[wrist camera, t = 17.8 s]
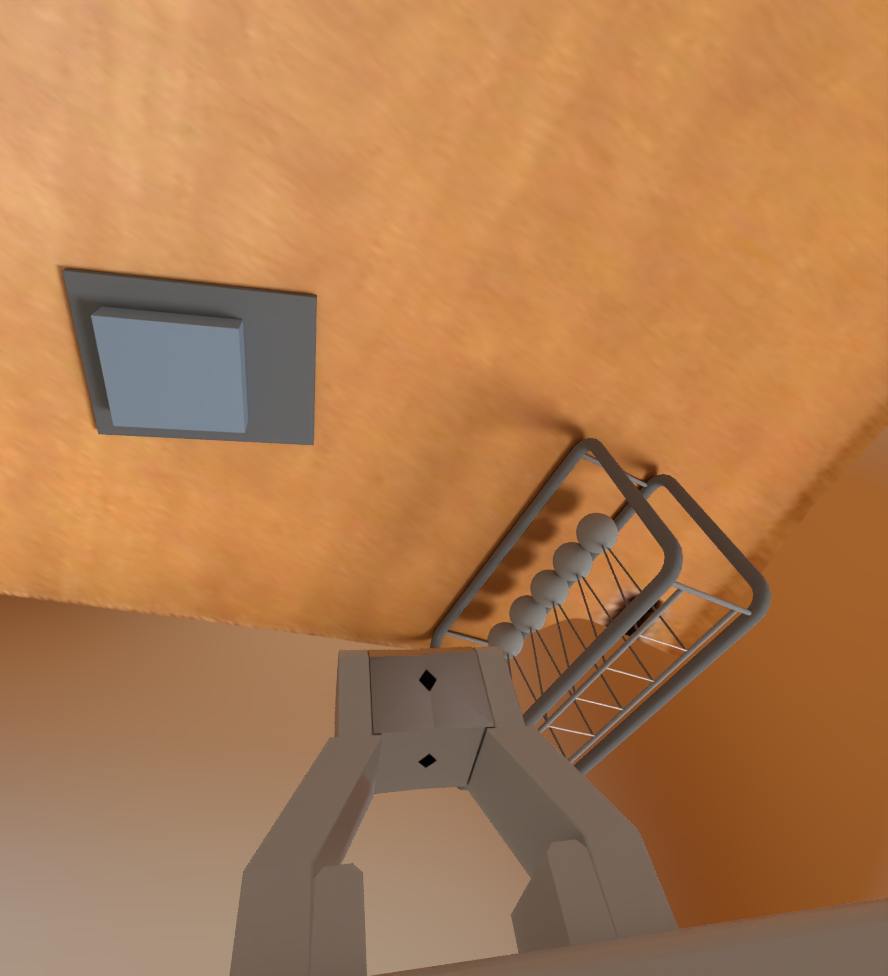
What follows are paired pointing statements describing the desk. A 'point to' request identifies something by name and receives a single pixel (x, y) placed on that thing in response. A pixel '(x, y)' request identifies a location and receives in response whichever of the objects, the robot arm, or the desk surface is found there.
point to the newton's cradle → (575, 565)
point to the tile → (172, 369)
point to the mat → (267, 342)
